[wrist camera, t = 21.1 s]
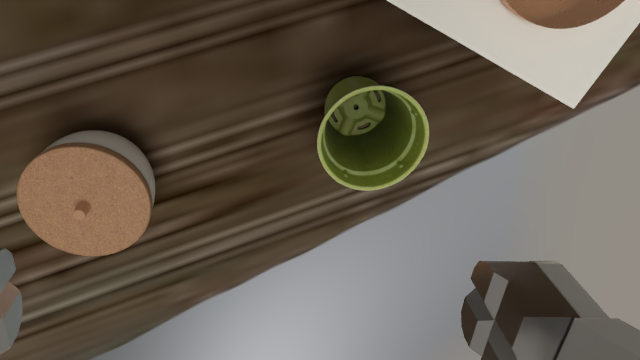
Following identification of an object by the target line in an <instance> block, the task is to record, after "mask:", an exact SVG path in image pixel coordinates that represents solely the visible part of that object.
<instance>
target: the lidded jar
mask: <svg viewBox="0 0 640 360" xmlns="http://www.w3.org/2000/svg"><path fill="white" fill-rule="evenodd" d="M154 198H155V178H154V174H153V170H152V168H151V165H150V163H149V161H148V160H147V158H146V156H145V155H144V154H143V152H142V151H141V150H140V149H139V148H138V147H137V146H136V145H135V144H133V143H132V142H131V141H129V140H127V139H126V138H124V137H122V136H120V135H117V134H114V133H111V132H107V131H100V130H87V131H80V132H76V133H72V134H70V135H67V136H65V137H62V138H60V139H59V140H57V141H56V142H54V143H52V144H51V145H49V146H48V147H47V148H46V149H45V150H44V151H42V152H41V153H40V154H38V155H37V156H36V157H35V158H34V159H33V160H32V161H31V162H30V163H29V164H28V165H27V166H26V167H25V169H24V170H23V172H22V173H21V176H20V178H19V180H18V185H17V202H18V207H19V209H20V212H21V214H22V216H23V218H24V220H25V221H26V223H27V225H28V226H29V227H30V228H31V229H32V230H33V232H34V233H36V234H37V235H38V236H39V237H40V238H41V239H43V240H44V241H45V242H47V243H48V244H50V245H52V246H54V247H56V248H58V249H60V250H63V251H66V252H69V253H72V254H76V255H84V256H102V255H108V254H112V253H116V252H119V251H121V250H124V249H126V248H127V247H129V246H131V245H132V244H133V243H135V242H136V241H137V240H138V239H139V238H140V237H141V235H142V234H143V233H144V231H145V230H146V228H147V226H148V223H149V220H150V217H151V214H152V207H153V204H154Z"/></svg>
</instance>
